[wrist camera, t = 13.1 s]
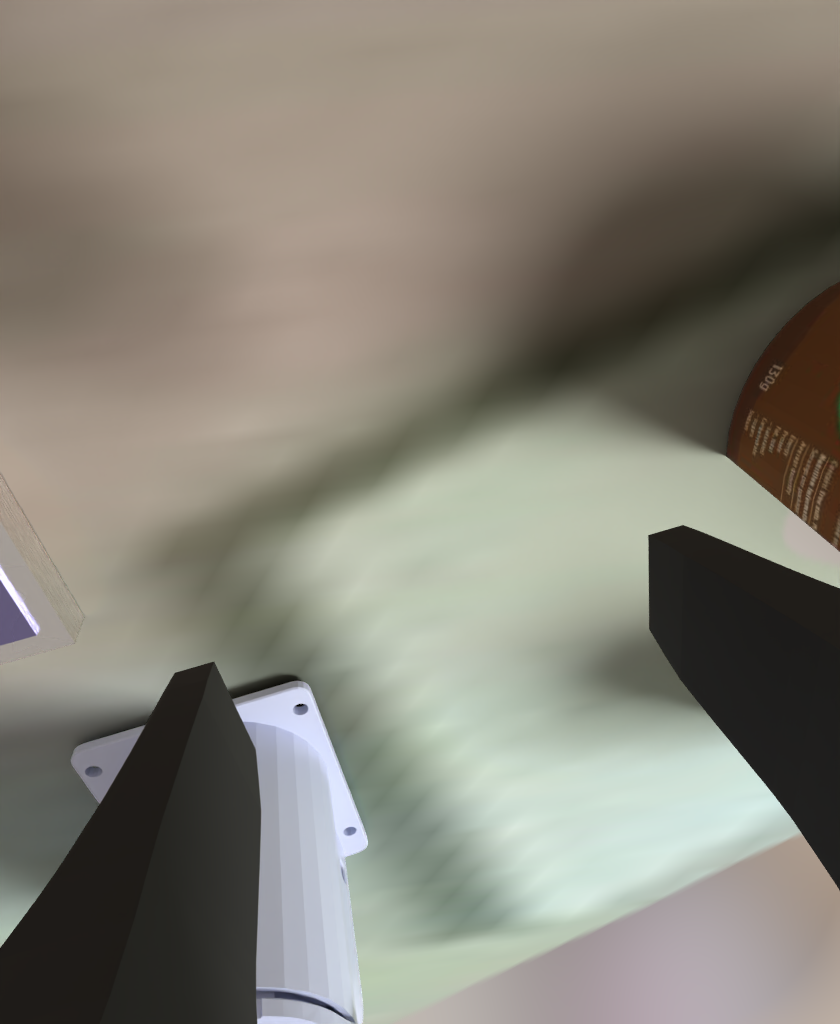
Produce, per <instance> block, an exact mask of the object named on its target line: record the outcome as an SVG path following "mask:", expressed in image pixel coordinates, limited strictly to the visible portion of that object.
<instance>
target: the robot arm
mask: <svg viewBox="0 0 840 1024" xmlns="http://www.w3.org/2000/svg"><path fill="white" fill-rule="evenodd" d="M649 629H650V631H651V633H652V634H653V636H654V638H655V639H656V641H657V643H658V644H659V646H660V648H661V649H662V651H663V653H664V655H665V656H666V658H667V659H668V661H669V662H670V664H671V666H672V667H673V669H674V670H675V672H676V673H677V675H678V677H679V678H680V680H681V681H682V682H683V684H684V685H685V686H686V687H687V689H688V690H689V691H690V692H691V694H692V695H693V696H694V697H695V699H696V700H697V701H698V702H699V704H700V705H701V706H702V707H703V709H704V710H705V711H706V712H707V714H708V715H709V716H710V717H711V719H712V720H713V721H714V722H715V723H716V725H717V726H718V727H719V728H720V730H721V731H722V732H723V733H724V734H725V736H726V737H727V738H728V739H729V740H730V742H731V743H732V744H733V745H734V747H735V748H736V749H737V750H738V751H739V753H740V754H741V755H742V756H743V758H744V759H745V760H746V761H747V762H748V764H749V765H750V766H751V767H752V769H753V770H754V771H755V772H756V773H757V775H758V776H759V777H760V778H761V780H762V781H763V782H764V783H765V784H766V786H767V787H768V788H769V789H770V791H771V792H772V793H773V794H774V796H775V797H776V798H777V800H778V801H779V802H780V804H781V805H782V806H783V808H784V809H785V810H786V812H787V813H788V814H789V816H790V817H791V818H792V820H793V821H794V822H795V824H796V825H797V827H798V828H799V830H800V831H801V833H802V834H803V836H804V837H805V839H806V840H807V842H808V843H809V845H810V846H811V848H812V849H813V851H814V852H815V854H816V855H817V857H818V858H819V859H820V861H821V863H822V864H823V866H824V867H825V869H826V870H827V872H828V873H829V874H830V876H831V877H832V879H833V880H834V882H835V884H836V885H837V887H838V888H839V890H840V588H837V587H834V586H832V585H829V584H826V583H824V582H821V581H819V580H816V579H814V578H811V577H809V576H806V575H804V574H801V573H799V572H796V571H794V570H791V569H789V568H786V567H784V566H782V565H779V564H777V563H774V562H772V561H770V560H767V559H765V558H762V557H760V556H758V555H755V554H753V553H751V552H748V551H746V550H743V549H741V548H739V547H736V546H734V545H732V544H729V543H727V542H724V541H722V540H720V539H717V538H715V537H712V536H710V535H708V534H705V533H703V532H700V531H697V530H695V529H692V528H689V527H687V526H684V525H682V526H679V527H675V528H672V529H668V530H665V531H661V532H658V533H655V534H651V535H649ZM297 704H305V705H304V706H302V707H297V706H296V705H297ZM71 764H72V766H73V768H74V769H75V770H76V772H77V773H78V775H79V776H80V777H81V779H82V780H83V782H84V783H85V785H86V786H87V787H88V789H89V790H90V792H91V793H92V794H93V796H94V797H95V799H96V800H97V802H98V803H99V804H100V805H99V806H98V808H97V809H96V811H95V813H94V814H93V816H92V817H91V819H90V820H89V822H88V823H87V825H86V827H85V828H84V830H83V831H82V833H81V834H80V836H79V837H78V839H77V840H76V842H75V844H74V845H73V847H72V848H71V850H70V851H69V853H68V854H67V856H66V858H65V859H64V861H63V862H62V864H61V865H60V867H59V868H58V870H57V871H56V873H55V874H54V875H53V877H52V878H51V880H50V881H49V883H48V884H47V886H46V887H45V888H44V890H43V891H42V893H41V894H40V895H39V897H38V898H37V900H36V901H35V902H34V904H33V905H32V906H31V908H30V909H29V910H28V912H27V913H26V914H25V916H24V917H23V918H22V920H21V921H20V922H19V924H18V925H17V926H16V928H15V929H14V930H13V932H12V933H11V934H10V936H9V937H8V938H7V940H6V941H5V942H4V944H3V945H2V946H1V948H0V1024H363V997H362V989H361V981H360V973H359V965H358V957H357V949H356V941H355V933H354V925H353V917H352V909H351V901H350V893H349V885H348V877H347V869H346V861H345V857H346V856H349V855H352V854H355V853H359V852H361V851H363V850H364V849H365V848H366V847H367V845H368V840H367V834H366V831H365V829H364V826H363V824H362V821H361V818H360V816H359V813H358V811H357V808H356V805H355V803H354V800H353V798H352V795H351V792H350V790H349V787H348V785H347V782H346V779H345V777H344V774H343V772H342V769H341V766H340V764H339V761H338V759H337V756H336V753H335V751H334V748H333V746H332V743H331V740H330V738H329V735H328V733H327V730H326V727H325V725H324V722H323V720H322V717H321V714H320V712H319V709H318V707H317V704H316V701H315V699H314V696H313V694H312V691H311V688H310V687H309V685H308V684H307V683H305V682H303V681H292V682H289V683H285V684H282V685H278V686H275V687H272V688H268V689H265V690H262V691H258V692H255V693H251V694H248V695H245V696H241V697H238V698H235V699H232V698H231V696H230V694H229V692H228V690H227V688H226V686H225V684H224V681H223V679H222V677H221V675H220V673H219V671H218V669H217V667H216V665H215V663H214V662H211V663H208V664H204V665H201V666H197V667H194V668H190V669H187V670H184V671H180V672H177V673H175V674H174V675H173V677H172V679H171V680H170V682H169V684H168V686H167V687H166V689H165V691H164V692H163V694H162V696H161V698H160V700H159V701H158V703H157V705H156V707H155V709H154V711H153V712H152V714H151V716H150V718H149V720H148V721H147V723H146V725H144V726H140V727H137V728H134V729H130V730H127V731H123V732H120V733H117V734H113V735H110V736H107V737H103V738H100V739H97V740H93V741H90V742H86V743H83V744H81V745H79V746H77V747H76V748H75V749H74V751H73V754H72V757H71ZM91 766H97V767H98V768H94V767H91Z"/></svg>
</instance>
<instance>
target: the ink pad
mask: <svg viewBox="0 0 840 1024" xmlns="http://www.w3.org/2000/svg"><path fill="white" fill-rule="evenodd" d="M84 618H85V617H84V616H83V614H82V612H81V611H80V609H79V607H78V606H77V604H76V602H75V600H74V599H73V597H72V595H71V594H70V592H69V590H68V589H67V587H66V585H65V583H64V582H63V580H62V578H61V577H60V575H59V573H58V572H57V570H56V568H55V566H54V565H53V563H52V561H51V560H50V558H49V556H48V555H47V553H46V551H45V549H44V548H43V546H42V544H41V543H40V541H39V539H38V538H37V536H36V534H35V532H34V531H33V529H32V527H31V526H30V524H29V522H28V521H27V519H26V517H25V515H24V514H23V512H22V510H21V509H20V507H19V505H18V504H17V502H16V500H15V498H14V497H13V495H12V493H11V492H10V490H9V488H8V486H7V485H6V483H5V481H4V480H3V478H2V476H1V475H0V665H1V664H4V663H8V662H12V661H15V660H19V659H22V658H26V657H29V656H33V655H36V654H40V653H43V652H47V651H50V650H54V649H57V648H61V647H65V646H68V645H72V644H75V642H76V640H77V637H78V634H79V631H80V629H81V626H82V623H83V620H84Z"/></svg>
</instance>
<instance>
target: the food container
mask: <svg viewBox="0 0 840 1024" xmlns="http://www.w3.org/2000/svg"><path fill="white" fill-rule="evenodd" d="M726 456H727V457H728V458H729V459H730V460H732V461H733V462H734V463H735V464H736V465H737V466H739V467H740V468H741V469H742V470H743V471H745V472H746V473H747V474H748V475H749V476H751V477H752V478H753V479H754V480H755V481H756V482H758V483H759V484H760V485H761V486H762V487H764V488H765V489H766V490H767V491H768V492H770V493H771V494H772V495H773V496H774V497H775V498H777V499H778V500H779V501H780V502H781V503H783V504H784V505H785V506H786V507H787V508H789V509H790V510H791V511H792V512H793V513H794V514H796V515H797V516H798V517H799V518H800V519H802V520H803V521H804V522H805V523H806V524H808V525H809V526H810V527H811V528H812V529H813V530H815V531H816V532H817V533H818V534H819V535H821V536H822V537H823V538H824V539H825V540H827V541H828V542H829V543H830V544H831V545H833V546H834V547H835V548H836V549H837V550H838V551H840V282H838V283H837V284H835V285H833V286H831V287H829V288H828V289H827V290H825V291H824V292H823V293H821V294H820V295H818V296H817V297H816V298H814V299H813V300H812V301H810V302H809V303H808V304H807V305H805V306H804V307H803V308H802V309H801V310H800V311H799V312H798V313H797V314H796V315H795V316H794V317H793V318H792V319H791V320H789V321H788V322H787V324H786V325H785V326H784V327H783V328H782V329H781V331H780V332H779V333H778V334H777V335H776V337H775V338H774V339H773V340H772V341H771V342H770V344H769V345H768V347H767V348H766V350H765V351H764V353H763V354H762V356H761V357H760V358H759V360H758V361H757V363H756V364H755V366H754V368H753V370H752V372H751V374H750V376H749V377H748V379H747V381H746V383H745V385H744V387H743V389H742V392H741V394H740V397H739V400H738V402H737V405H736V407H735V410H734V413H733V417H732V421H731V425H730V430H729V434H728V444H727V455H726Z"/></svg>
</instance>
